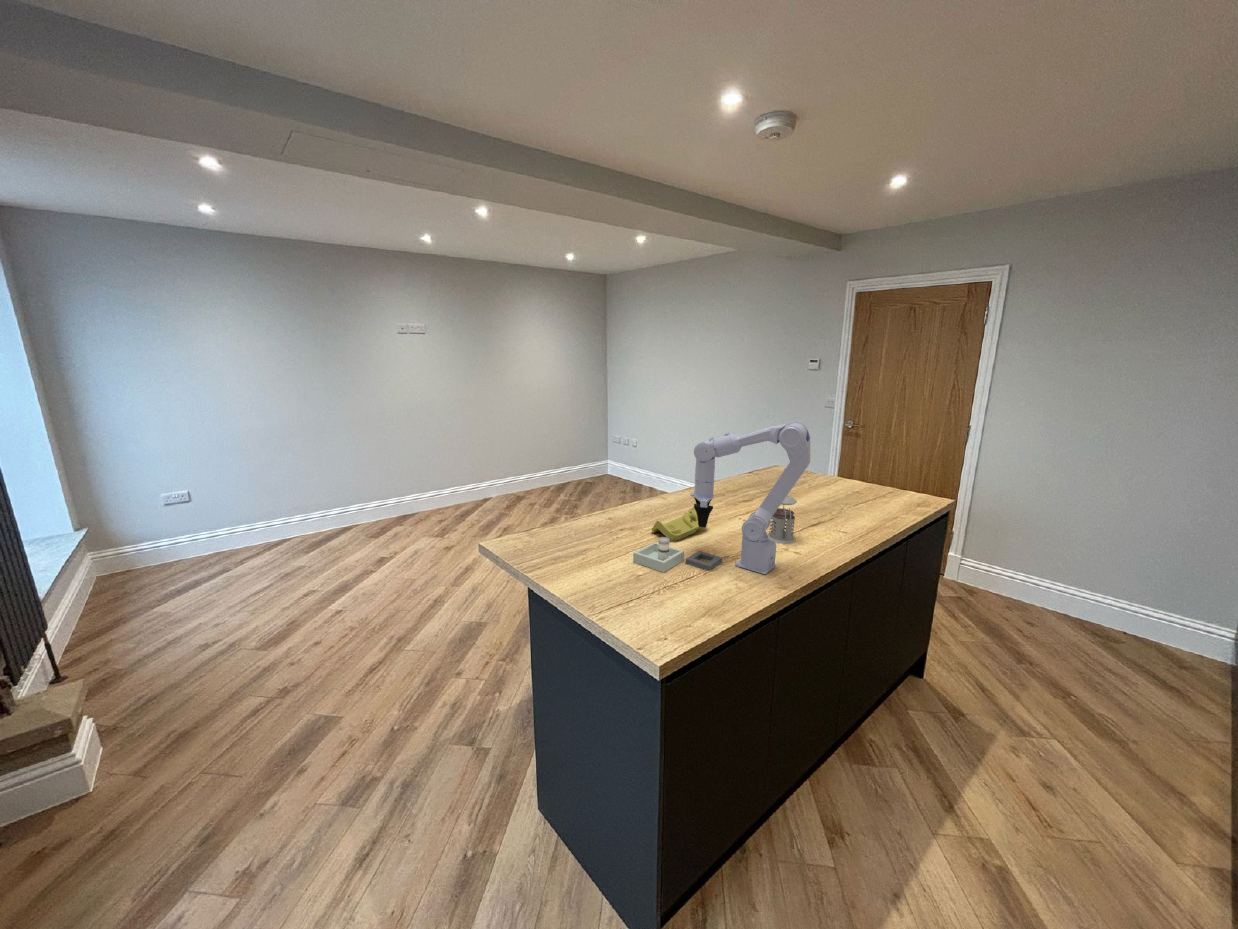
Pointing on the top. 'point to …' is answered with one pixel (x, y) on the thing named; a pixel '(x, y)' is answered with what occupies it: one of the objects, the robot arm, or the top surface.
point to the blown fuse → (663, 548)
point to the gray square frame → (696, 562)
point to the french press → (783, 523)
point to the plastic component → (679, 526)
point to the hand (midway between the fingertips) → (702, 522)
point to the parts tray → (650, 557)
